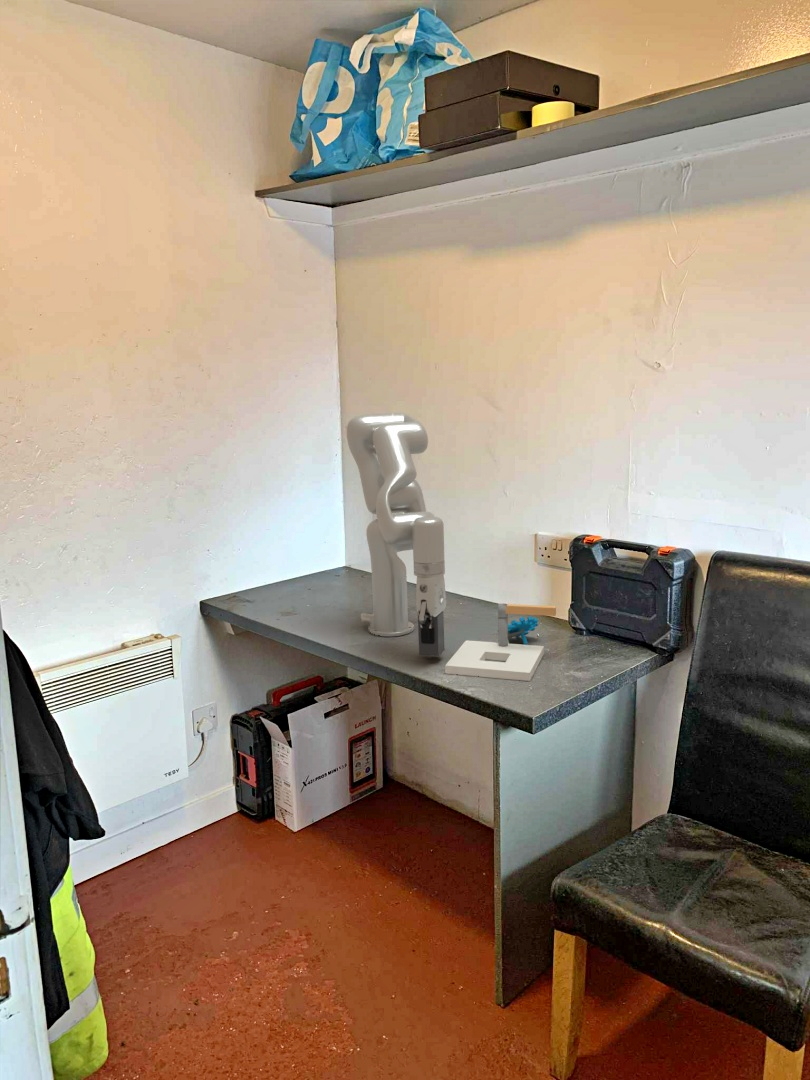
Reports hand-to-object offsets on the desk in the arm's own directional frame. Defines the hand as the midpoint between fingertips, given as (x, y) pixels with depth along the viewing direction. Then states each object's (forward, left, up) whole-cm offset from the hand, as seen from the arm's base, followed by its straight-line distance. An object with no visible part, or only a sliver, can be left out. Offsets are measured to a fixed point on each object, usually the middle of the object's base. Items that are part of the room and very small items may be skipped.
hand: (431, 639), depth 202 cm
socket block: (+16, +1, -5) cm, 17 cm away
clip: (+22, +9, +4) cm, 24 cm away
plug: (0, 0, -3) cm, 3 cm away
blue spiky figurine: (+18, +19, -6) cm, 26 cm away
